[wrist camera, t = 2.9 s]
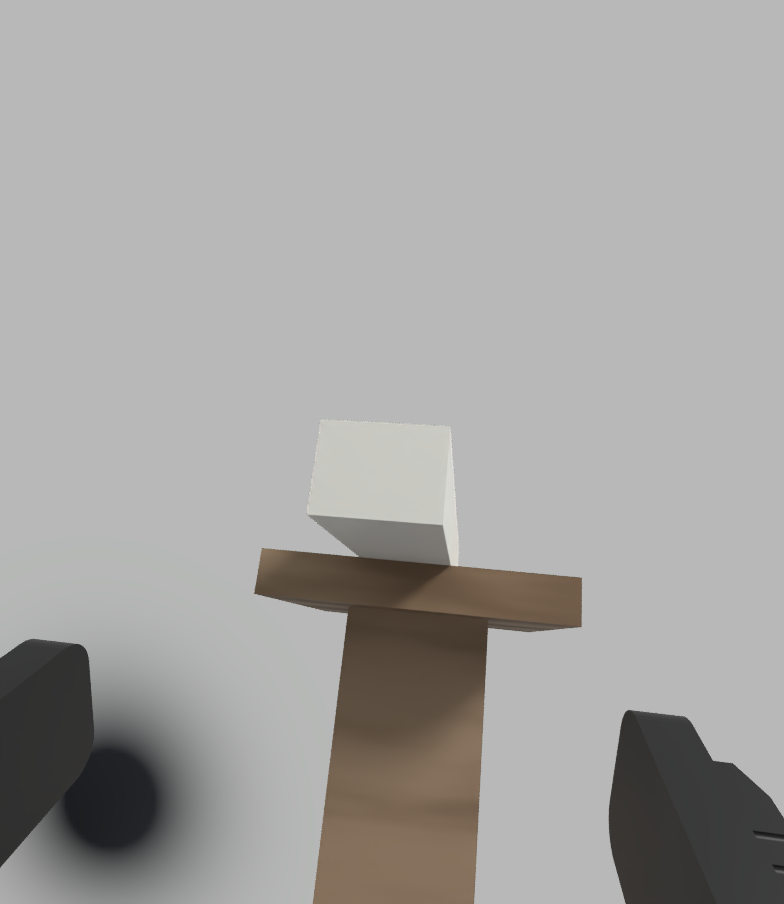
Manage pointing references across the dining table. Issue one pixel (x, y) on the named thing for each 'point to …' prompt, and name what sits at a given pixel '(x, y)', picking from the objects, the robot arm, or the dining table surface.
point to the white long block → (387, 490)
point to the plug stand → (409, 713)
